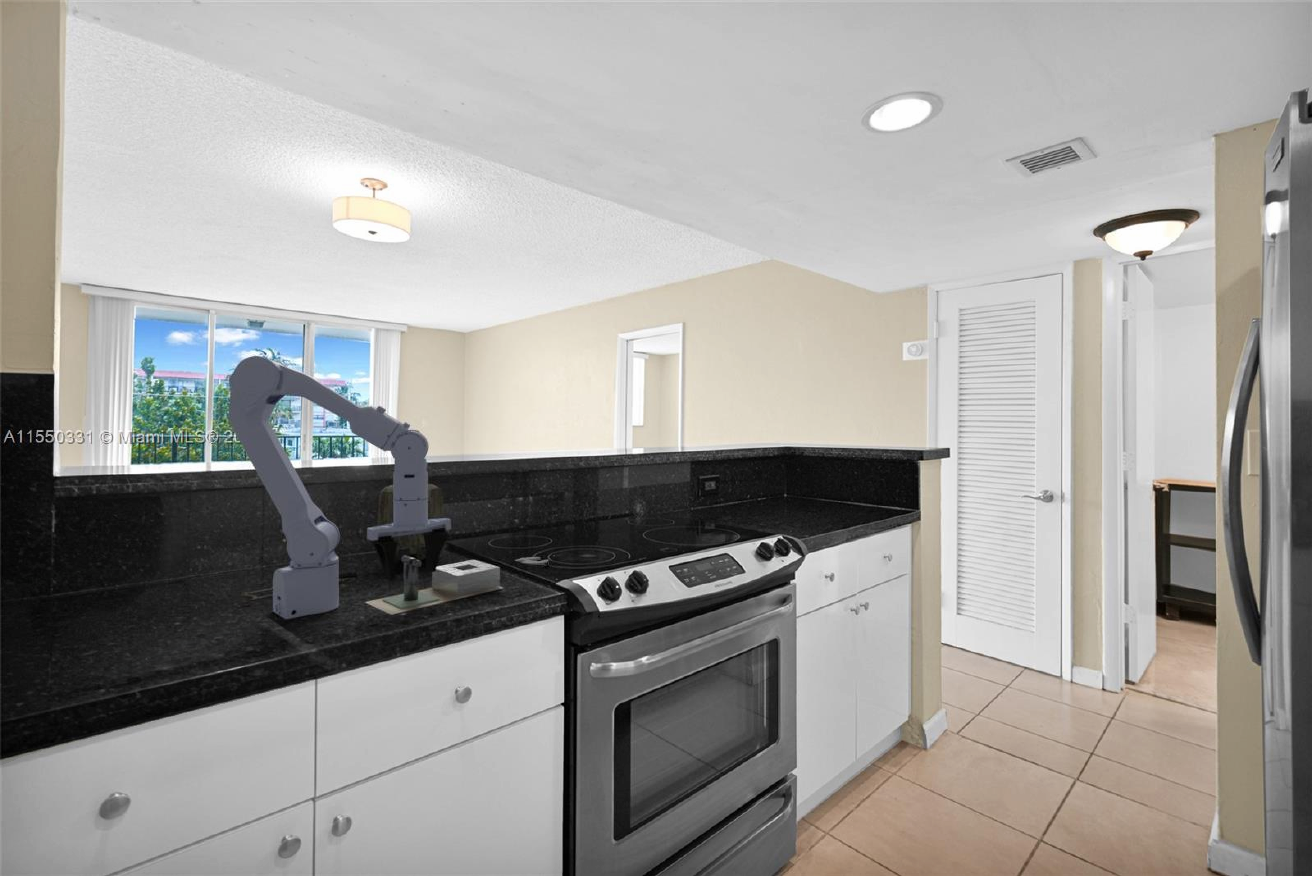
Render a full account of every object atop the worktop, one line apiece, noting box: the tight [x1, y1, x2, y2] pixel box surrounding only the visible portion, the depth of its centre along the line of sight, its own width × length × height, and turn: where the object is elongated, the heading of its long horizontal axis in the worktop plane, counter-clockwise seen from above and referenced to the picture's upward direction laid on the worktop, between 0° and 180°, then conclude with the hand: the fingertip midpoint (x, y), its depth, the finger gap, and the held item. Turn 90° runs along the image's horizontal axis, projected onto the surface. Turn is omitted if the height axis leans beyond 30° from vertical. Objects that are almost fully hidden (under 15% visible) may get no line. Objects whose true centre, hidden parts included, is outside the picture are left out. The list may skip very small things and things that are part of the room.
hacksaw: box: [232, 569, 359, 608], centre depth 121 cm, size 24×10×2 cm, turn 136°
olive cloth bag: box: [377, 483, 444, 561], centre depth 146 cm, size 14×9×25 cm, turn 174°
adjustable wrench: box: [514, 556, 549, 566], centre depth 139 cm, size 25×6×2 cm, turn 109°
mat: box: [382, 590, 439, 609], centre depth 110 cm, size 7×7×1 cm
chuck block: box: [431, 559, 501, 598], centre depth 118 cm, size 9×9×4 cm
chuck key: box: [400, 554, 423, 601], centre depth 110 cm, size 2×6×7 cm, turn 49°
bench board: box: [364, 586, 503, 616], centre depth 114 cm, size 22×10×1 cm, turn 139°
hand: (410, 574), depth 110 cm, fingers open, 7 cm apart
